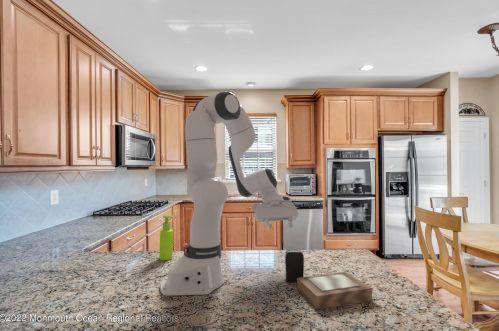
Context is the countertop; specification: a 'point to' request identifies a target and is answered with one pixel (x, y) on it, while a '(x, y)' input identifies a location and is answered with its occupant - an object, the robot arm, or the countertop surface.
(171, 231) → the soap dispenser
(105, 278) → the countertop surface
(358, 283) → the brown flat rectangular block
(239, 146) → the robot arm
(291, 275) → the battery charger
